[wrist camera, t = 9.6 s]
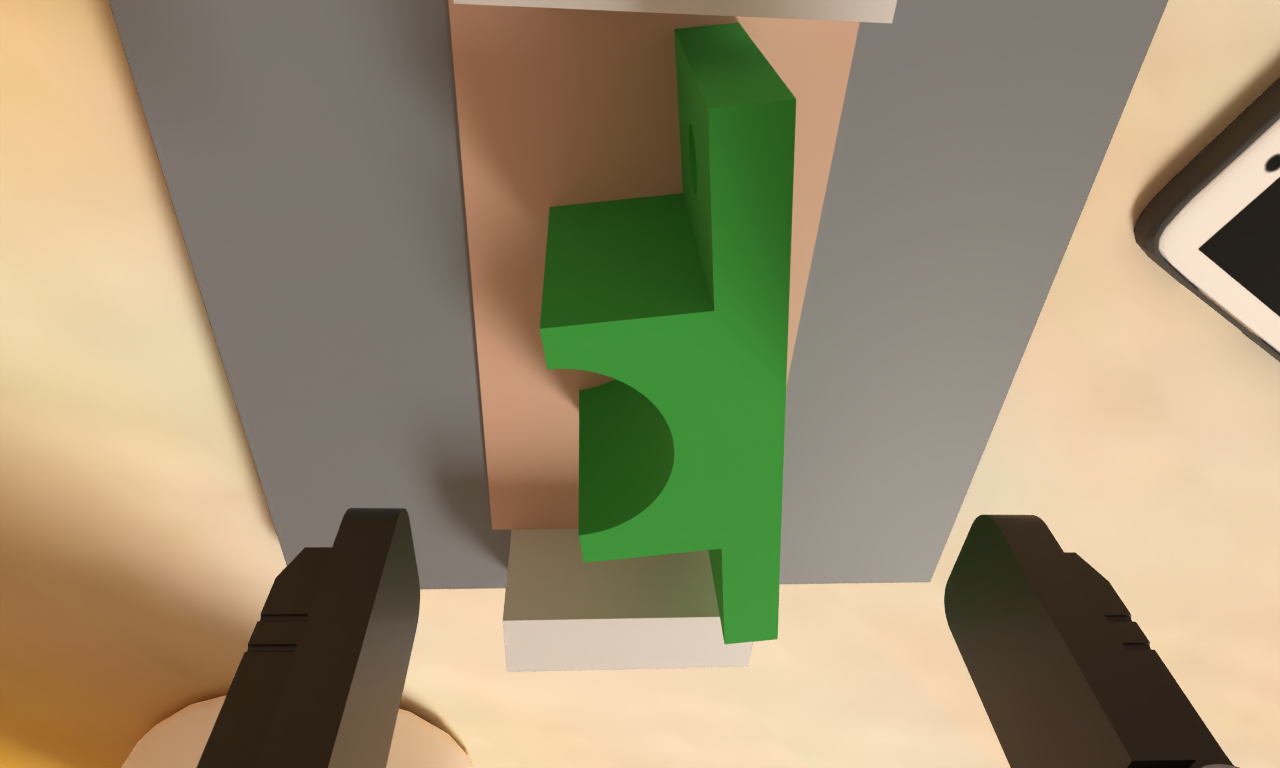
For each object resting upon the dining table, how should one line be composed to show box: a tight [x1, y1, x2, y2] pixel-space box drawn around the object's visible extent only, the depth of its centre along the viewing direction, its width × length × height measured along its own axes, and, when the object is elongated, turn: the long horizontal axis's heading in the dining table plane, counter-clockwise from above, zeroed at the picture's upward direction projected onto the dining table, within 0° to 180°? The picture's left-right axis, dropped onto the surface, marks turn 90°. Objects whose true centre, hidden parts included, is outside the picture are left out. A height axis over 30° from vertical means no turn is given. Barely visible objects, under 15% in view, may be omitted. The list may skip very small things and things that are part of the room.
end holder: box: [109, 0, 1168, 672], centre depth 16 cm, size 18×18×4 cm
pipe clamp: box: [540, 22, 796, 644], centre depth 15 cm, size 11×4×5 cm, turn 5°
